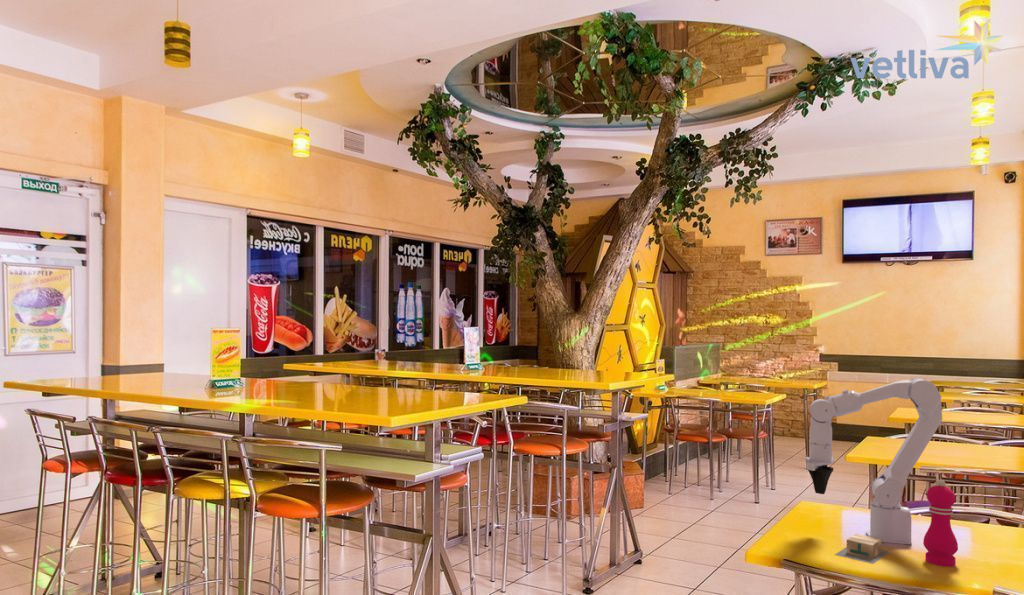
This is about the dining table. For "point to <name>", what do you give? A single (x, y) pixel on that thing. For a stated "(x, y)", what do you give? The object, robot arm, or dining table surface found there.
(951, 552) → the pepper mill
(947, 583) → the dining table surface
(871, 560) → the grey panel
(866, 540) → the birch block
